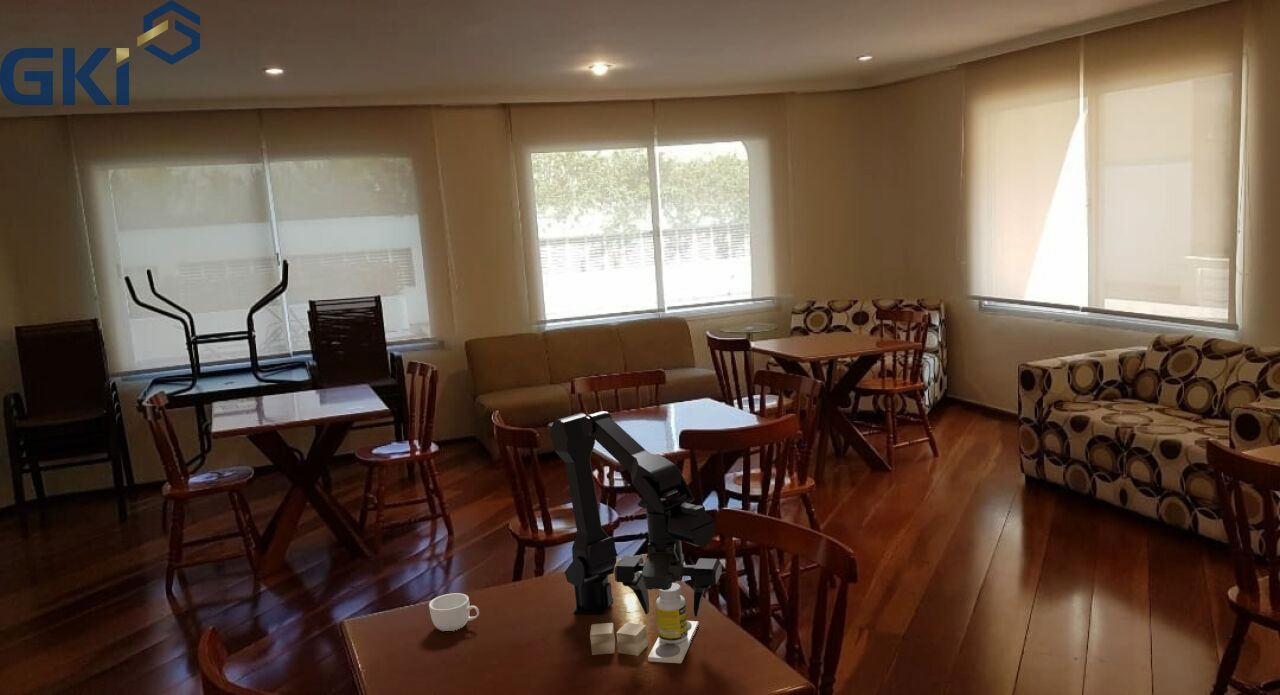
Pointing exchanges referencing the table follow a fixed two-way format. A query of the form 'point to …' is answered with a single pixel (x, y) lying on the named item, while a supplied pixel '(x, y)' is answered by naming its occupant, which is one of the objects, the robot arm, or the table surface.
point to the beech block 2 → (632, 639)
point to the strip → (673, 647)
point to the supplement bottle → (671, 615)
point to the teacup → (451, 611)
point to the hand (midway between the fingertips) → (671, 614)
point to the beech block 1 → (602, 638)
